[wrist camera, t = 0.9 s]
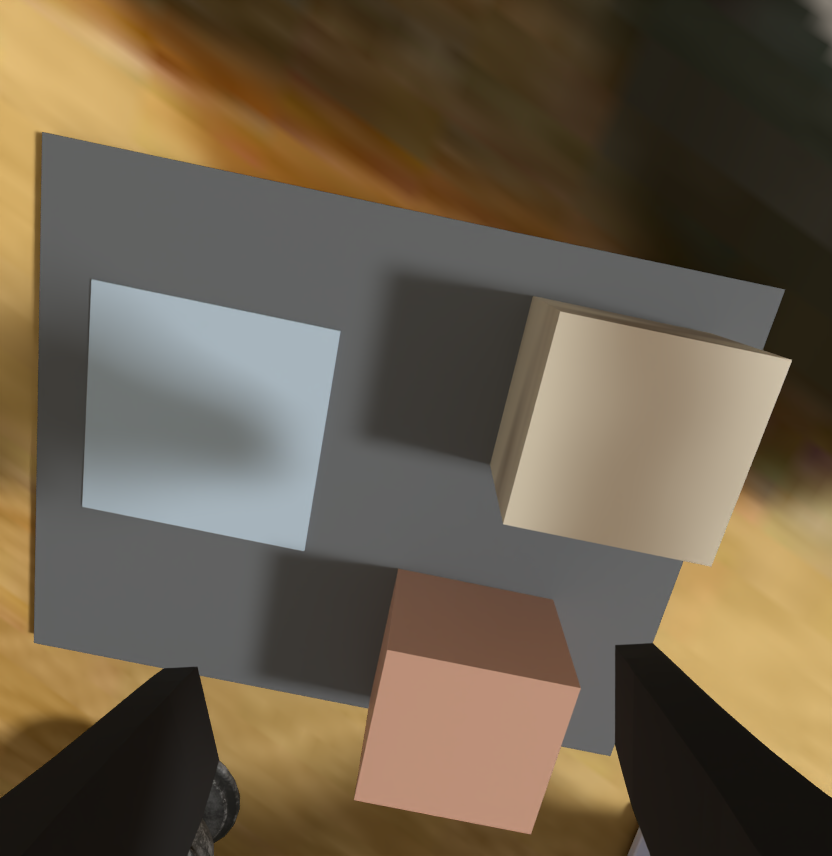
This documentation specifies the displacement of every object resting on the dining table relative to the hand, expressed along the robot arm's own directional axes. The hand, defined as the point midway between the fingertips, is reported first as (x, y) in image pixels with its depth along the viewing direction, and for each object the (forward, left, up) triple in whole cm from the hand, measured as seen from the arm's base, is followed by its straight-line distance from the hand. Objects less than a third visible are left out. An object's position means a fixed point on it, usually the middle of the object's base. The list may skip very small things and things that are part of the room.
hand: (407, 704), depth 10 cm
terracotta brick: (-2, +5, -8) cm, 10 cm away
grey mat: (+2, 0, -9) cm, 9 cm away
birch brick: (-4, -4, -8) cm, 10 cm away
